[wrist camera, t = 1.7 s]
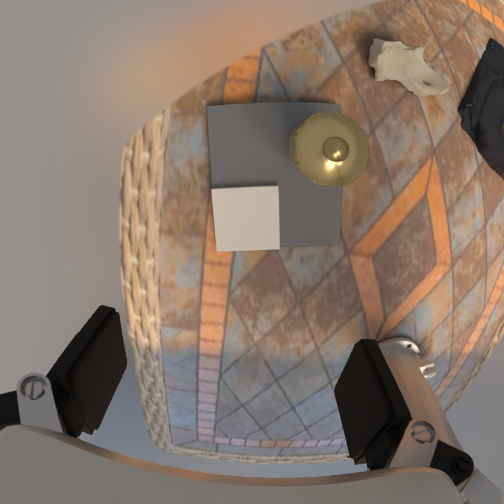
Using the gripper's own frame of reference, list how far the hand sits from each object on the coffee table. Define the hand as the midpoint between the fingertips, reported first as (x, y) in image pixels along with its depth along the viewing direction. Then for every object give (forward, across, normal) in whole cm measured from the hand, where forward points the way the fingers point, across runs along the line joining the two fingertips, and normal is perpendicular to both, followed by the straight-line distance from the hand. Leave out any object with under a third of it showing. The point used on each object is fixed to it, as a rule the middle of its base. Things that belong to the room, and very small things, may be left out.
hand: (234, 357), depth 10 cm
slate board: (+23, -2, -4) cm, 23 cm away
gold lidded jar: (+19, -6, -8) cm, 21 cm away
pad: (+22, 0, +1) cm, 22 cm away
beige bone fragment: (+23, -16, -21) cm, 35 cm away
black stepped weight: (+23, -35, -24) cm, 49 cm away
